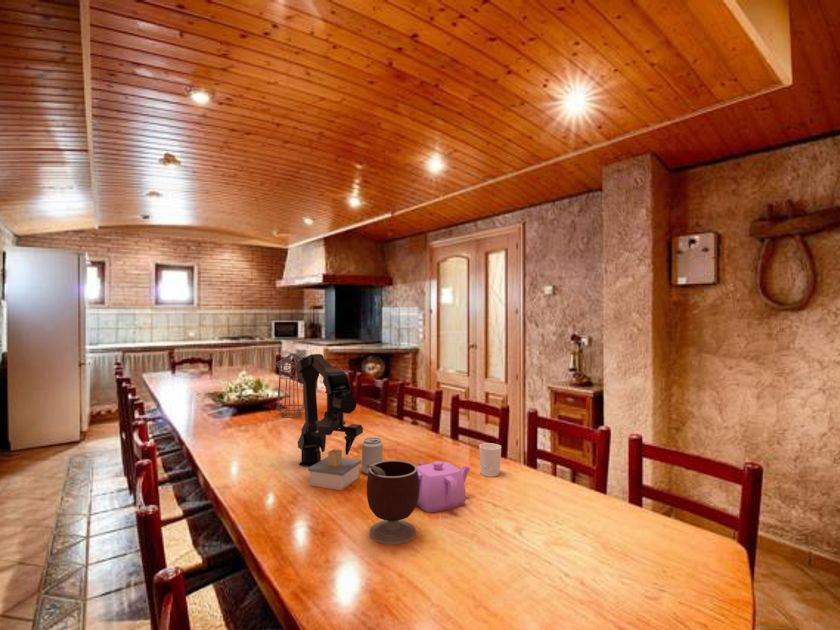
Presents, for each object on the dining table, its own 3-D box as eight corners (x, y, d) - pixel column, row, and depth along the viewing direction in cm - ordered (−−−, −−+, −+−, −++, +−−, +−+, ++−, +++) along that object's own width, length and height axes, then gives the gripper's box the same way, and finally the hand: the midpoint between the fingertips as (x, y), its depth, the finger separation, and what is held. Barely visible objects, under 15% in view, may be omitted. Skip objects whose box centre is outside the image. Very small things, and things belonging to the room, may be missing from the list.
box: (310, 485, 150) (310, 470, 150) (328, 473, 162) (328, 459, 162) (341, 490, 146) (341, 475, 146) (358, 477, 158) (358, 463, 158)
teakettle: (403, 510, 133) (403, 468, 132) (419, 488, 149) (419, 451, 149) (459, 518, 128) (460, 474, 128) (470, 494, 144) (470, 456, 144)
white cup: (503, 471, 165) (503, 444, 165) (497, 479, 158) (498, 450, 157) (482, 468, 168) (483, 441, 168) (476, 475, 161) (476, 447, 161)
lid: (308, 470, 150) (308, 454, 150) (328, 459, 162) (328, 443, 162) (342, 475, 146) (342, 458, 146) (360, 463, 158) (360, 447, 158)
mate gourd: (395, 515, 129) (395, 446, 128) (429, 533, 119) (430, 457, 119) (350, 534, 118) (351, 458, 118) (384, 555, 108) (385, 472, 108)
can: (379, 476, 159) (379, 442, 159) (358, 474, 161) (359, 441, 161) (384, 469, 167) (385, 436, 167) (365, 467, 168) (365, 435, 168)
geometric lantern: (272, 418, 244) (272, 354, 243) (285, 412, 259) (285, 352, 259) (299, 419, 241) (299, 355, 241) (311, 413, 256) (311, 352, 256)
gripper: (298, 410, 149) (298, 457, 150) (348, 415, 143) (348, 463, 143) (316, 404, 160) (316, 447, 160) (363, 408, 154) (363, 453, 154)
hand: (334, 453), depth 154 cm, fingers open, 9 cm apart
